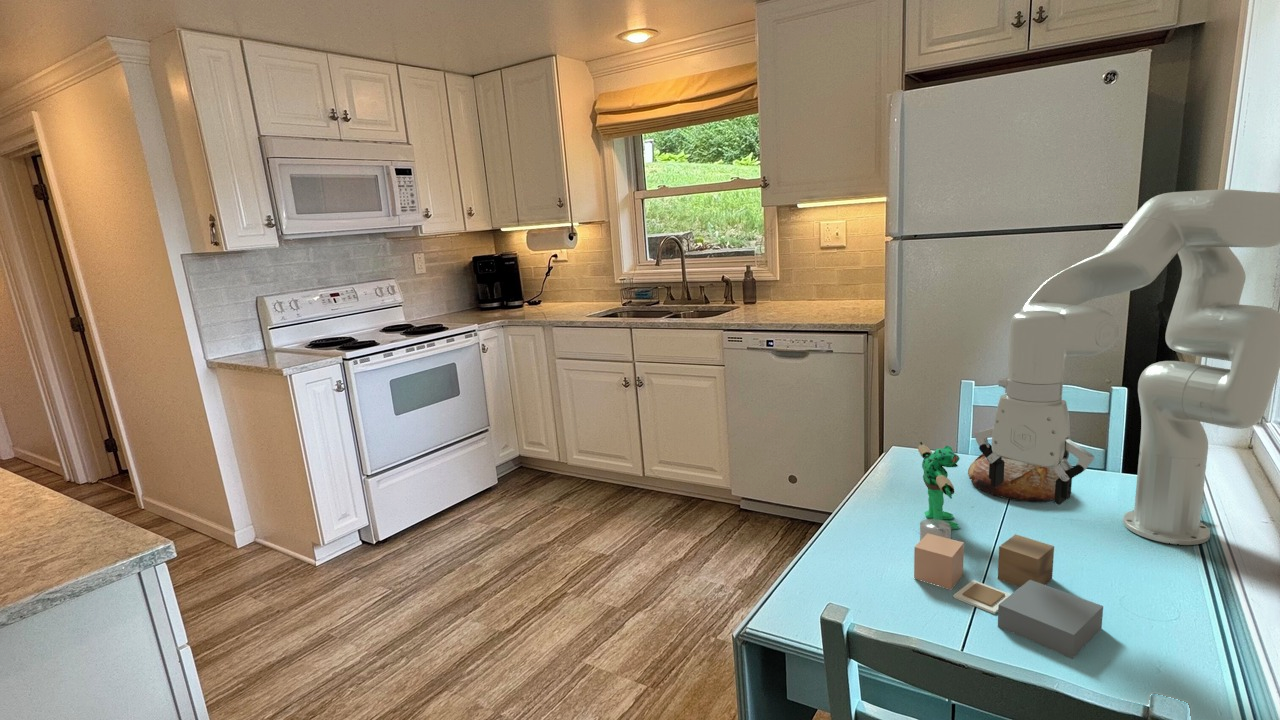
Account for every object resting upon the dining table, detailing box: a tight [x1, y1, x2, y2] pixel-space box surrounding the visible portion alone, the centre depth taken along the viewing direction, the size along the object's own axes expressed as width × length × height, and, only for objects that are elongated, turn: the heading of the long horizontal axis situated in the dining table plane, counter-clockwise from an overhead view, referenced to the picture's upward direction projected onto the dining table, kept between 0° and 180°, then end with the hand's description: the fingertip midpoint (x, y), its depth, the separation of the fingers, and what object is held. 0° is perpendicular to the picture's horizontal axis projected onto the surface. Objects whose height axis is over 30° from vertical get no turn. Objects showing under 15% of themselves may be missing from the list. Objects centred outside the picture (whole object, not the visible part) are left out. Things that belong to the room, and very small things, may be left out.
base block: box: [997, 580, 1104, 660], centre depth 98 cm, size 10×10×4 cm
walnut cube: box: [997, 533, 1055, 588], centre depth 110 cm, size 6×6×6 cm
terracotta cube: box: [913, 533, 965, 590], centre depth 113 cm, size 6×6×6 cm
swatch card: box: [952, 579, 1012, 615], centre depth 106 cm, size 6×6×1 cm
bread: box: [967, 453, 1059, 503], centre depth 144 cm, size 16×20×10 cm
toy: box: [917, 441, 961, 530], centre depth 131 cm, size 26×6×15 cm, turn 168°
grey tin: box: [919, 518, 952, 542], centre depth 119 cm, size 5×5×6 cm
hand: (1027, 492), depth 108 cm, fingers open, 9 cm apart
